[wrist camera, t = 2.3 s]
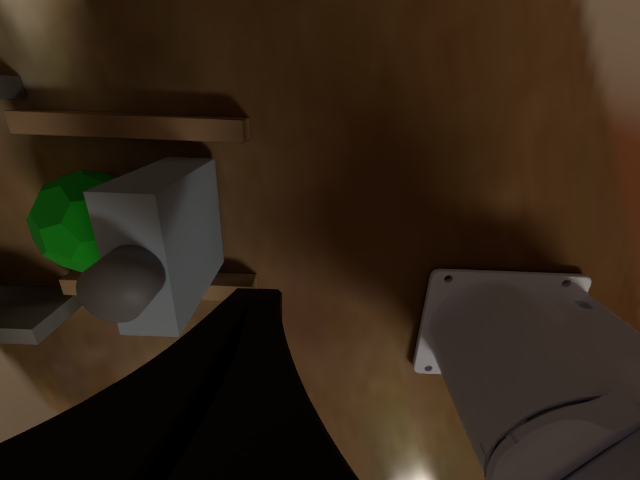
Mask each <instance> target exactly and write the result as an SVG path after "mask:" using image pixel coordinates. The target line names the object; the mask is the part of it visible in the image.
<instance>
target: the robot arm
mask: <svg viewBox="0 0 640 480" xmlns="http://www.w3.org/2000/svg"><path fill="white" fill-rule="evenodd" d="M448 275H450V278H449V279H446V280H445V279H444V278H445V277H446V276H448ZM565 280H566V282H565V283H563V284H562V282H563V281H565ZM590 285H591V279H590V278H589V277H587V276H586V275H584V274H567V273H541V272H515V271H489V270H463V269H435V270H433V271H432V272H431V274H430V278H429V283H428V288H427V293H426V298H425V303H424V308H423V313H422V318H421V323H420V328H419V333H418V338H417V343H416V349H415V354H414V359H413V364H412V365H413V369H414V371H415V372H417V373H428V374H442V376H443V379H444V381H445V383H446V386H447V388H448V391H449V393H450V395H451V398H452V400H453V403H454V405H455V407H456V410H457V412H458V415H459V417H460V419H461V422H462V424H463V427H464V429H465V431H466V434H467V436H468V439H469V441H470V443H471V446H472V448H473V451H474V453H475V455H476V458H477V460H478V463H479V465H480V467H481V470H482V472H483V475H484V477H485V480H640V333H639V332H638V331H636V330H635V329H634V328H632V327H631V326H630V325H628V324H627V323H626V322H624V321H623V320H622V319H621V318H619V317H618V316H617V315H615V314H614V313H613V312H611V311H610V310H609V309H607V308H606V307H605V306H604V305H602V304H601V303H600V302H598V301H597V300H596V299H594V298H593V297H592V296H590V295H589V294H588V293H587V292H588V290H589V287H590ZM426 366H428V367H426ZM0 480H359V479H358V478H357V476H356V475H355V473H354V472H353V470H352V469H351V468H350V466H349V465H348V463H347V462H346V460H345V459H344V457H343V456H342V454H341V453H340V451H339V449H338V448H337V446H336V445H335V443H334V441H333V440H332V438H331V437H330V435H329V433H328V432H327V430H326V428H325V426H324V425H323V423H322V421H321V419H320V417H319V416H318V414H317V412H316V410H315V408H314V406H313V405H312V403H311V401H310V399H309V397H308V395H307V393H306V391H305V388H304V386H303V384H302V382H301V379H300V377H299V375H298V372H297V370H296V367H295V365H294V362H293V359H292V357H291V353H290V350H289V347H288V344H287V341H286V337H285V333H284V328H283V324H282V293H281V292H280V291H279V290H278V289H253V288H237V289H236V290H235V291H234V292H233V293H231V294H230V295H229V296H228V297H227V298H226V299H225V300H224V301H223V302H222V303H220V304H219V305H218V306H217V307H216V308H215V309H214V310H213V311H212V312H211V313H210V314H208V315H207V316H206V317H205V318H204V319H203V320H202V321H200V322H199V323H198V324H197V325H196V326H195V327H193V328H192V329H191V330H190V331H189V332H187V333H186V334H185V335H184V336H182V337H181V338H180V339H179V340H177V341H176V342H175V343H173V344H172V345H171V346H170V347H168V348H167V349H166V350H164V351H163V352H162V353H160V354H159V355H157V356H156V357H155V358H153V359H152V360H150V361H149V362H147V363H146V364H144V365H143V366H141V367H140V368H138V369H137V370H135V371H134V372H132V373H131V374H129V375H128V376H126V377H124V378H123V379H121V380H119V381H118V382H116V383H114V384H112V385H111V386H109V387H107V388H106V389H104V390H102V391H100V392H99V393H97V394H95V395H93V396H92V397H90V398H88V399H87V400H85V401H83V402H81V403H80V404H78V405H76V406H74V407H72V408H70V409H68V410H66V411H64V412H63V413H61V414H59V415H57V416H55V417H53V418H51V419H49V420H47V421H45V422H43V423H41V424H39V425H37V426H35V427H33V428H31V429H29V430H27V431H25V432H23V433H21V434H18V435H16V436H14V437H12V438H10V439H8V440H6V441H3V442H1V443H0Z"/></svg>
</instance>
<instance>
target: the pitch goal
mask: <svg viewBox="0 0 640 480" xmlns="http://www.w3.org/2000/svg"><path fill="white" fill-rule="evenodd" d="M0 99H26V95H25V92H24V88H23V85H22V82H21V78H20V76H10V75H0ZM3 112H4V115H5V118H6V121H7V124H8V127H9V130H10V133H11V134H35V135H60V136H85V137H110V138H135V139H160V140H185V141H210V142H235V143H244V142H246V141H247V140H249V139H250V125H249V118H233V117H208V116H183V115H158V114H133V113H108V112H83V111H59V110H34V109H27V110H10V111H3ZM81 273H82V272H79V271H76V270H72V271H71V272H69V273H68V274H66V275H65V276H63V277H62V278H61V279H59V282H60V285H61V287H40V286H13V285H0V343H5V344H32V345H38V344H39V343H40V342H41V341H42V340H44V339H45V338H46V337H47V336H48V335H49V334H50V333H52V332H53V331H54V330H55V329H56V328H57V327H58V326H59V325H61V324H62V323H63V322H64V321H65V320H66V319H67V318H69V317H70V316H71V315H72V314H73V313H74V312H75V311H77V310H78V309H79V308H80V307H81V306H82V304H81V302H80V300H79V299H78V296H77V293H76V282H77V279H78V277H79V276H80V274H81ZM237 288H253V289H257V274H241V273H217V274H216V276H215V278H214V279H213V281H212V283H211V284H210V286H209V288H208V289H207V291H206V293H205V294H204V296H203V298H202V299H201V300H217V301H224V300H225V299H226V298H227V297H228V296H229V295H230V294H231V293H233V292H234V291H235V290H236V289H237Z"/></svg>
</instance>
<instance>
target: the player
mask: <svg viewBox="0 0 640 480" xmlns="http://www.w3.org/2000/svg"><path fill="white" fill-rule="evenodd" d="M83 194H84V197H85V201H86V205H87V209H88V213H89V217H90V220H91V224H92V228H93V232H94V236H95V240H96V243H97V247H98V251H99V255H100V259H99V260H98V261H97V262H95V263H94V264H93V265H91V266H90V267H89V268H87V269H86V270H85V271H83V272H82V273H81V274H80V276H79V277H78V279H77V282H76V293H77V296H78V299H79V300H80V302H81V304H82V305H83V306H84V307H85V308H86V309H87V310H88V311H89V312H90V313H91V314H93V315H94V316H96V317H98V318H100V319H102V320H105V321H108V322H113V323H117V324H118V328H119V331H120V335H141V336H167V337H180V335H181V333H182V332H183V330H184V328H185V326H186V325H187V323H188V321H189V320H190V318H191V316H192V315H193V313H194V311H195V310H196V308H197V306H198V305H199V303H200V301H201V299H202V298H203V296H204V294H205V293H206V291H207V289H208V288H209V286H210V284H211V283H212V281H213V279H214V278H215V276H216V274H217V273H218V271H219V269H220V267H221V266H222V264H223V262H224V256H223V245H222V234H221V223H220V212H219V201H218V190H217V179H216V168H215V158H190V157H166V158H164V159H161V160H159V161H156V162H154V163H151V164H149V165H146V166H144V167H142V168H139V169H137V170H134V171H132V172H129V173H127V174H125V175H122V176H120V177H117V178H115V179H112V180H110V181H108V182H105V183H103V184H100V185H98V186H95V187H93V188H91V189H88V190H86V191H83Z"/></svg>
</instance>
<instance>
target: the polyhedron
mask: <svg viewBox="0 0 640 480" xmlns="http://www.w3.org/2000/svg"><path fill="white" fill-rule="evenodd" d="M115 178H117V177H115V176H112V175H109V174H106V173H102V172H95V171H88V170H80V171H77V172H73V173H70V174H67V175H63V176H61V177H59V178H57V179H55V180H53V181H51V182H49V183H47V184H45V185H43V186H42V188H41V190H40V192H39V194H38V196H37V199H36V201H35V203H34V205H33V207H32V209H31V211H30V213H29V216H28V218H27V223H28V226H29V229H30V232H31V235H32V238H33V240H34V242H35V244H36V245H37V247H38V248H39V250H40V252H41V253H42V255H43V256H44V257H46V258H48V259H50V260H52V261H53V262H55V263H57V264H59V265H61V266H62V267H66V268H69V269H72V270H76V271H79V272H83V271H85V270H86V269H87V268H89V267H90V266H91V265H93V264H94V263H95V262H97V261H98V260H99V259H100V255H99V251H98V247H97V243H96V240H95V236H94V232H93V228H92V224H91V220H90V217H89V213H88V209H87V205H86V201H85V197H84V194H83V191H86V190H88V189H91V188H93V187H95V186H98V185H100V184H103V183H105V182H108V181H110V180H112V179H115Z"/></svg>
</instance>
